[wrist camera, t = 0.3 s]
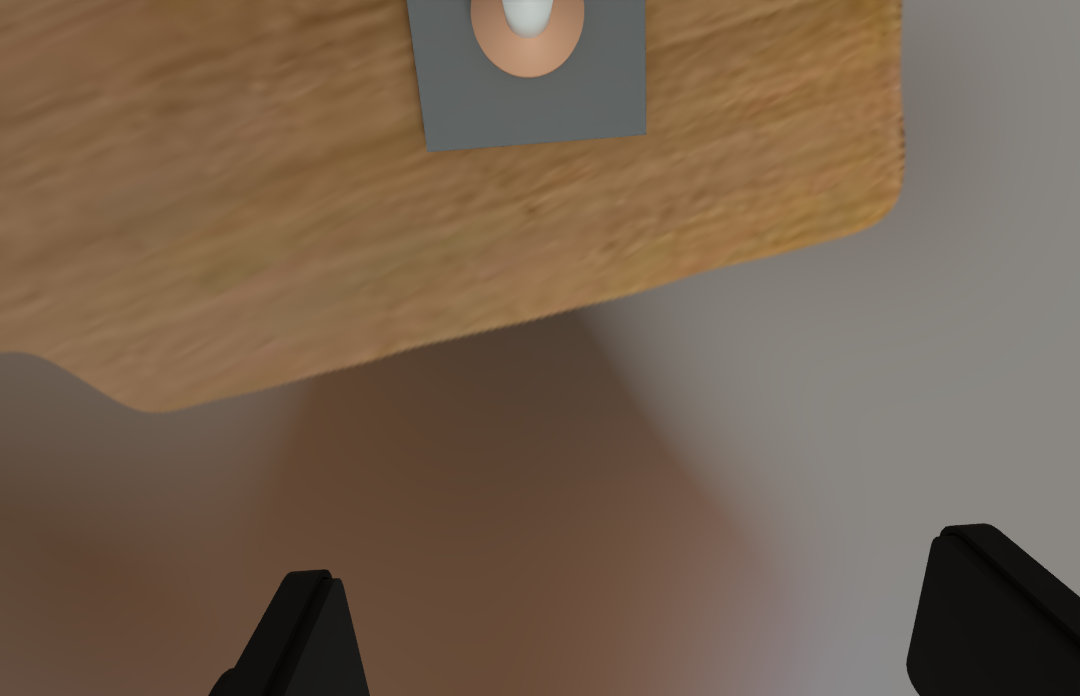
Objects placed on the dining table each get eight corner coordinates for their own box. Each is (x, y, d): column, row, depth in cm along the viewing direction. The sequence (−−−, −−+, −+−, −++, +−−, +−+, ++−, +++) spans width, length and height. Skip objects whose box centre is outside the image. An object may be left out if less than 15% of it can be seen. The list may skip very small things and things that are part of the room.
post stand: (397, -104, 30) (354, -183, 23) (638, -124, 30) (675, -211, 23) (431, 151, 35) (405, 155, 27) (641, 134, 35) (672, 133, 27)
